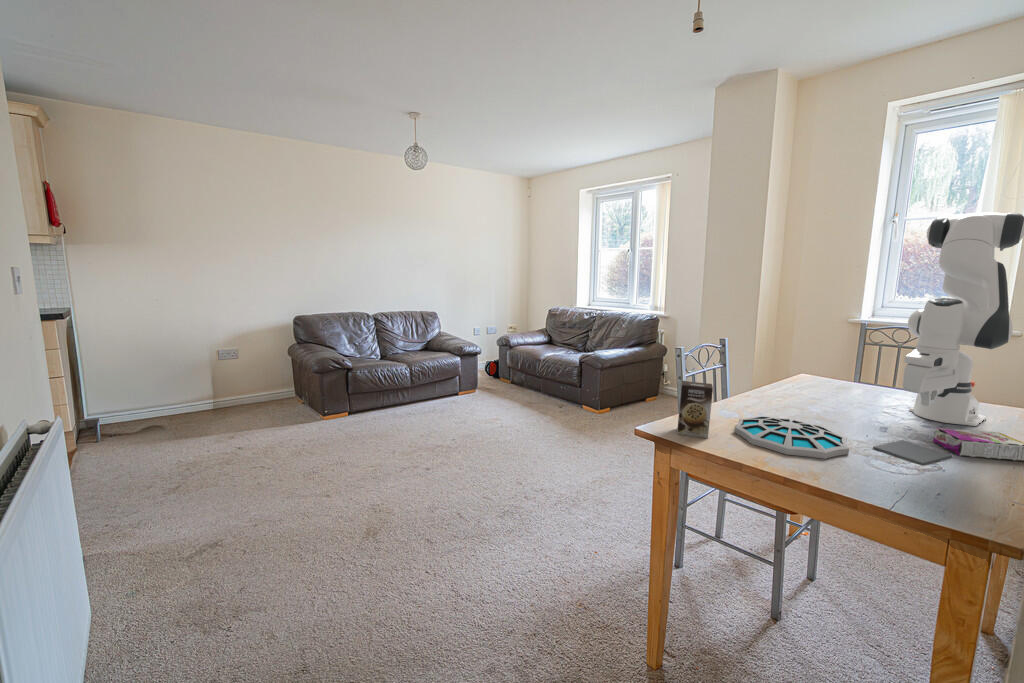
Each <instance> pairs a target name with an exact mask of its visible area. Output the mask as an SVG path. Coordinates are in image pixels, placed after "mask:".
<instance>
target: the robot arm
mask: <svg viewBox="0 0 1024 683" xmlns="http://www.w3.org/2000/svg"><path fill="white" fill-rule="evenodd" d="M1023 238H1024V215H1023V214H1021V213H1016V212H1007V213H1002V212H978V213H967V214H965V213H964V214H956V215H942V216H937V218H935V219H934V220H933V221H931V224H930V225H929V226H928V229H927V231H926V239H927V242H928V245H930V246H931V247H932V248H936V249H940V253H939V258H938V259H939V260H938V263H939V267H940V268H941V270H942V271H943V272H944V278H943V282H942V290H943V292H944V293H945V294H946V295H947V296H948V297H937V298H932V299H929V300H927V301H926V303H925V305H924V307H923V308H919V309H917V310H915V311H913V312H912V313H911V315H910V316H909V318H908V320H907V327H908V330H909V331H910V333H911V334H912V335H913V336H915V337H916V338H918V339H917V342H916V344H915V348H914V349H913V350H912V351H911V352H910V353H908V354H907V355H905V356H904V363H905V364H906V365H905V366H904V370H903V376H902V377H903V378H902V388H903V390H904V391H905V392H910V393H914V394H916V397H915V401H914V406H911V407H909V409H908V410H909V411H911V412H912V413H914V415H915V416H918V417H921V418H924V419H927V420H931V421H935V422H940V423H945V424H953V425H963V426H964V425H965V426H971V427H976V426H979V425H980V424H981V423H983V422H984V421H986V420H985V419H987V416H985V415H982V414H979V412H978V411H979V405H980V404H979V403H980V402H979V401H978V400H977V399H976V398H975V396H974V395H973V394H972V391H973V390H972V388H975V386H976V382H975V381H971V378H972V372H973V367H974V361H973V358H972V357H971V356H970V355H968V354H967V353H965V352H963V351H962V350H960V345H961V346H970V347H971V346H972V347H975V348H982V349H988V350H994V349H996V348H997V349H998V348H999V347H1002V346H1004V345H1006V344H1008V343H1009V342H1010V340H1011V339H1012V336H1013V333H1014V331H1013V330H1014V327H1013V322H1012V319H1011V316H1010V310H1009V308H1010V307H1009V306H1010V305H1009V288H1008V287H1009V286H1008V285H1009V284H1008V279H1007V278H1008V277H1007V270H1006V268H1005V265H1004V263H1002V262H999V261H997V259H995V249H996V248H997V249H999V252H1002V251H1004V249H1008V248H1013V247H1014V246H1016V245H1018V244H1019V243H1020V241H1022V240H1023ZM950 297H951V298H950ZM983 420H984V421H983ZM982 421H983V422H982ZM979 423H980V424H979Z"/></svg>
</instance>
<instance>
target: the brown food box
mask: <svg viewBox="0 0 1024 683" xmlns="http://www.w3.org/2000/svg"><path fill="white" fill-rule="evenodd" d="M713 392H714V387H713V384H712V383H707V382H699V381H698V382H697V381H688V380H687V381H686V380H681V386H680V396H679V397H680V398H679V407H678V408H679V409H678V418H677V430H676V433H677V435H680V436H681V435H682V436H688V437H695V438H700V439H701V438H702V439H709V432H710V431H709V430H710V422H711V411H712V400H713Z"/></svg>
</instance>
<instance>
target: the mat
mask: <svg viewBox="0 0 1024 683" xmlns="http://www.w3.org/2000/svg"><path fill="white" fill-rule="evenodd" d="M872 449H873V450H876V451H879V452H881V453H885V454H888V455H891V456H894V457H897V458H900V459H903V460H906V461H910V462H912V463H914V464H915V463H916V464H918V465H921V466H924V465H927V464H928V465H929V464H932V463H935V462H936V463H937V462H939V461H943V460H947V459H951V458H953V455H952V454H950V453H947V452H943V451H940V450H937V449H933V448H929V447H927V446H924V445H921V444H917V443H915V442H910V441H908V440H904V439H901V440H896V441H891V442H887V443H884V444H878V445H875V446H872Z"/></svg>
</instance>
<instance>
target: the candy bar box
mask: <svg viewBox="0 0 1024 683" xmlns="http://www.w3.org/2000/svg"><path fill="white" fill-rule="evenodd" d="M934 429H935V430H934V434H933V440H932V442H933V443H934V444H936V445H938V446H940V447H941V448H944V449H945V450H948V451H950V452H951V453H953V454H955V455H957V456H958V457H959V456H960V457H970V458H979V459H980V458H982V459H983V458H984V459H994V460H995V459H996V460H1005V461H1019V462H1024V442H1023V441H1021V440H1019V439H1016V438H1013V437H1011V436H1008V435H1006V434H1004V433H1001V432H999V431H983V430H971V429H969V430H968V429H955V428H942V427H935V428H934Z"/></svg>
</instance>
